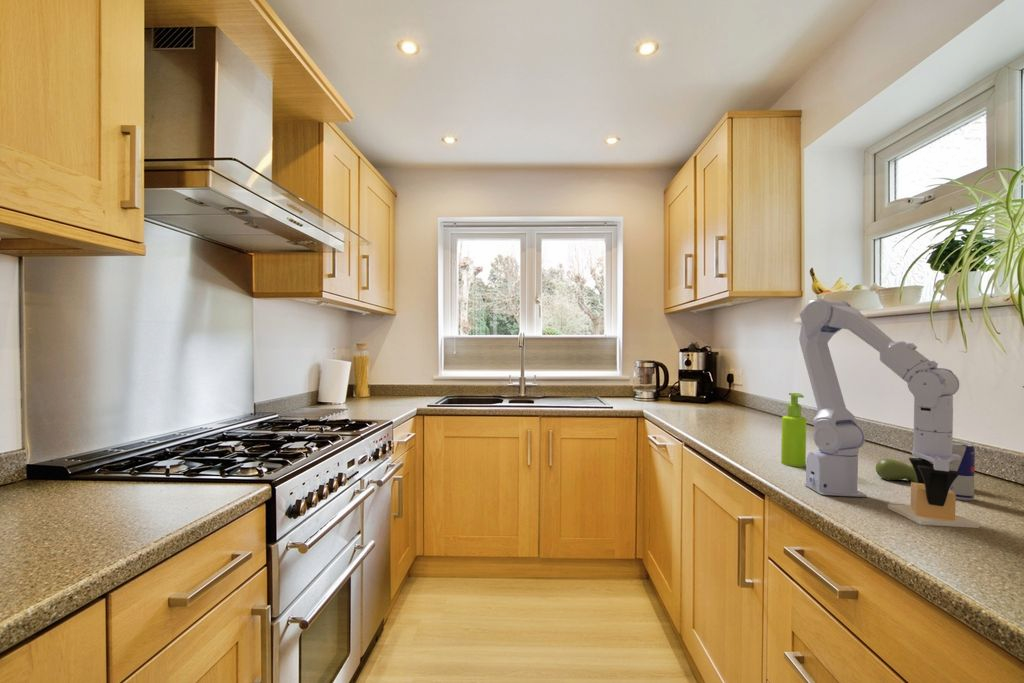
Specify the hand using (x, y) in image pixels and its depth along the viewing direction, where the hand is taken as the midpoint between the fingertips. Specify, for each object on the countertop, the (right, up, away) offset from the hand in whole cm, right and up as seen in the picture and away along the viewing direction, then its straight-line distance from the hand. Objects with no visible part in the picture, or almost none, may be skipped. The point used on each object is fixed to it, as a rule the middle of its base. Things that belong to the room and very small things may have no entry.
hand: (931, 500), depth 93 cm
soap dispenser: (-3, -4, +41) cm, 41 cm away
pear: (+15, -4, +26) cm, 31 cm away
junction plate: (0, -3, 0) cm, 3 cm away
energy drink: (+17, -4, +13) cm, 22 cm away
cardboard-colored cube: (0, -3, 0) cm, 3 cm away
